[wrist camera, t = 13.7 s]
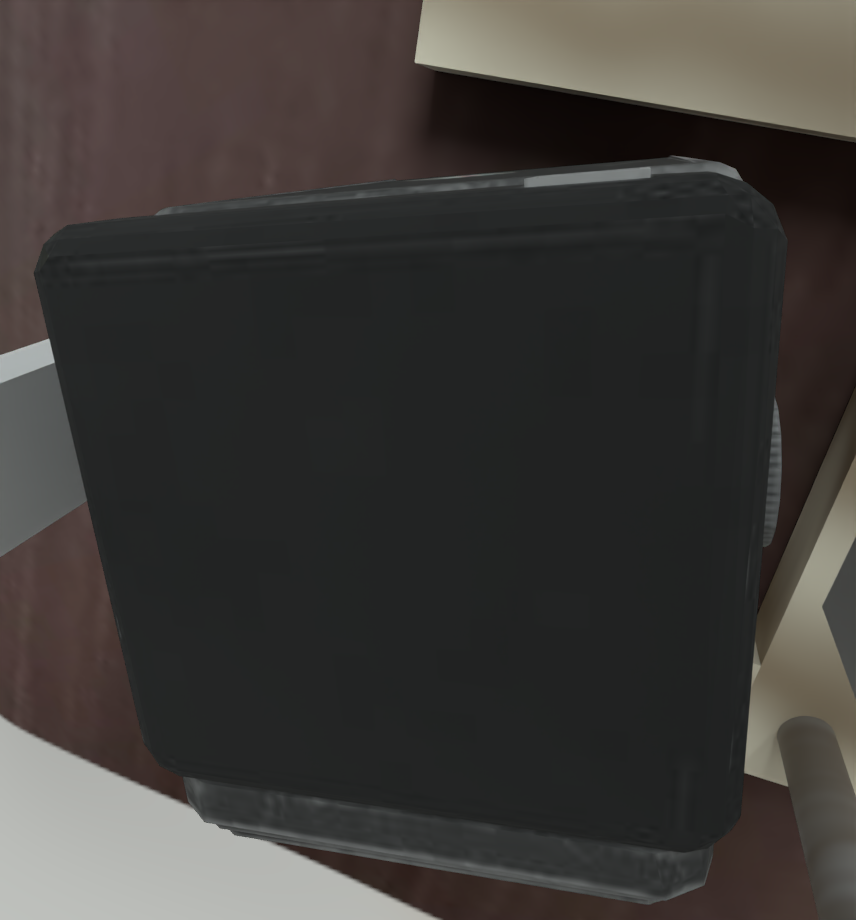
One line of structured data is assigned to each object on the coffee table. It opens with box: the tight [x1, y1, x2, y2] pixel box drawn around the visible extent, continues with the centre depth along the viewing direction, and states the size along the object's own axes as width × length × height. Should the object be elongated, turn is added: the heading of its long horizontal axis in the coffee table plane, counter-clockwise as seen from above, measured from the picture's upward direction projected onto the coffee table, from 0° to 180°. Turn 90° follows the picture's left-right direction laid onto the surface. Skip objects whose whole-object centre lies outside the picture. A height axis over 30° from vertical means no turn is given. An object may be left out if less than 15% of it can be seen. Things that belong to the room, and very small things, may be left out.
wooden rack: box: [415, 0, 856, 920], centre depth 15 cm, size 22×20×13 cm
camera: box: [34, 155, 788, 905], centre depth 15 cm, size 10×10×15 cm
